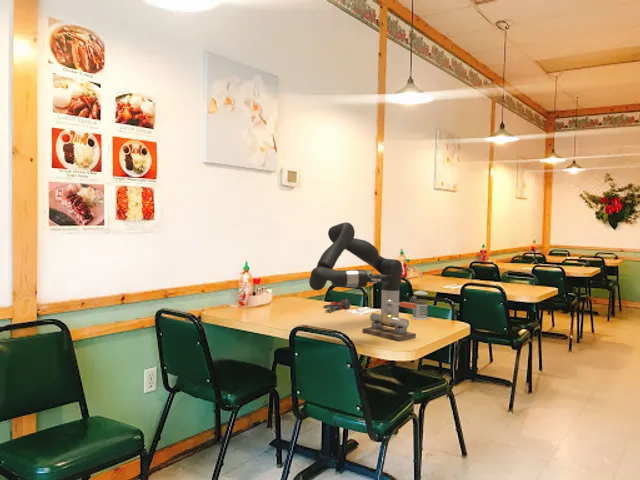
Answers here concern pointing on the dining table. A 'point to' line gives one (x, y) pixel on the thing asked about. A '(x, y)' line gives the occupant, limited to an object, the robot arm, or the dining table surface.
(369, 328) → the base board
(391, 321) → the pipe valve
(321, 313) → the dining table surface
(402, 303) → the valve lever
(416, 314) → the french press
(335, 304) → the valve
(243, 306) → the dining table surface
